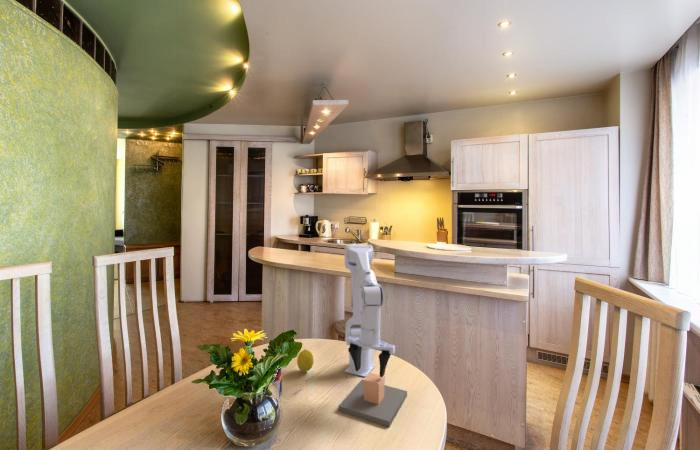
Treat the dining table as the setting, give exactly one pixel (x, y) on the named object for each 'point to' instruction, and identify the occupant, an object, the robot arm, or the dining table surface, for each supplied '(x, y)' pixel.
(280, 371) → the energy drink
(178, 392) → the dining table surface
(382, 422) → the shelf board
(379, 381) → the terracotta block
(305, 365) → the lemon
